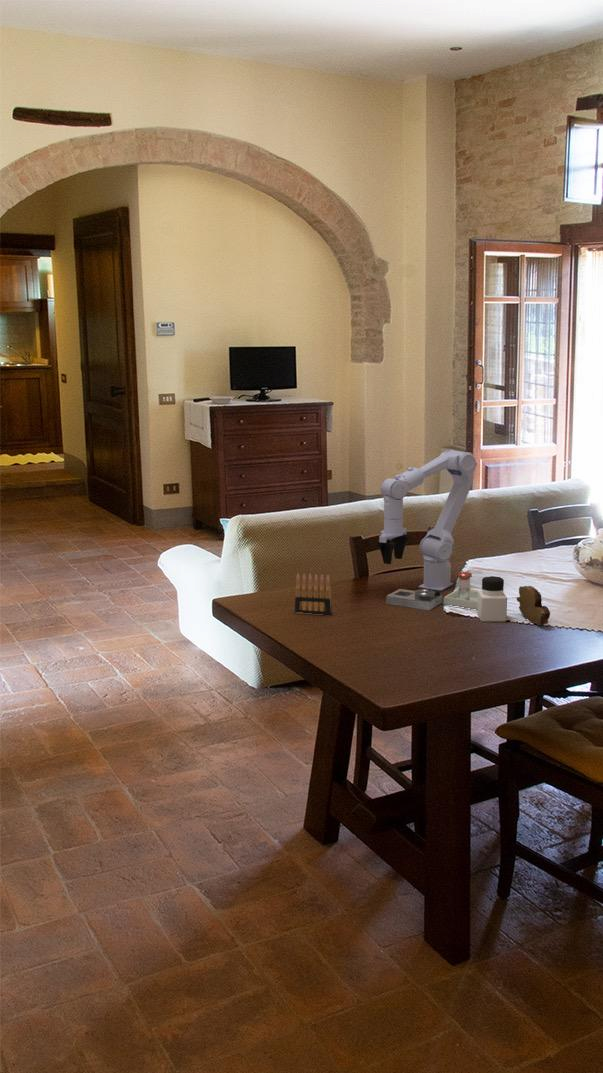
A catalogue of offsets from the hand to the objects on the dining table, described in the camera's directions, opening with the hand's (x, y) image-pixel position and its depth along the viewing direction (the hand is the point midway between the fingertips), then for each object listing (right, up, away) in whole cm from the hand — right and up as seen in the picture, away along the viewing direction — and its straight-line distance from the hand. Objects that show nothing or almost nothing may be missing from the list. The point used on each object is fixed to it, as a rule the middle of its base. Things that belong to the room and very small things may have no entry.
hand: (392, 561), depth 305 cm
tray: (+22, -12, -9) cm, 27 cm away
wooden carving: (+37, -16, -27) cm, 49 cm away
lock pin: (+20, -12, -10) cm, 26 cm away
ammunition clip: (-25, -15, -18) cm, 34 cm away
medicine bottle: (+26, -16, -24) cm, 39 cm away
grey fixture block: (+6, -12, -9) cm, 16 cm away
